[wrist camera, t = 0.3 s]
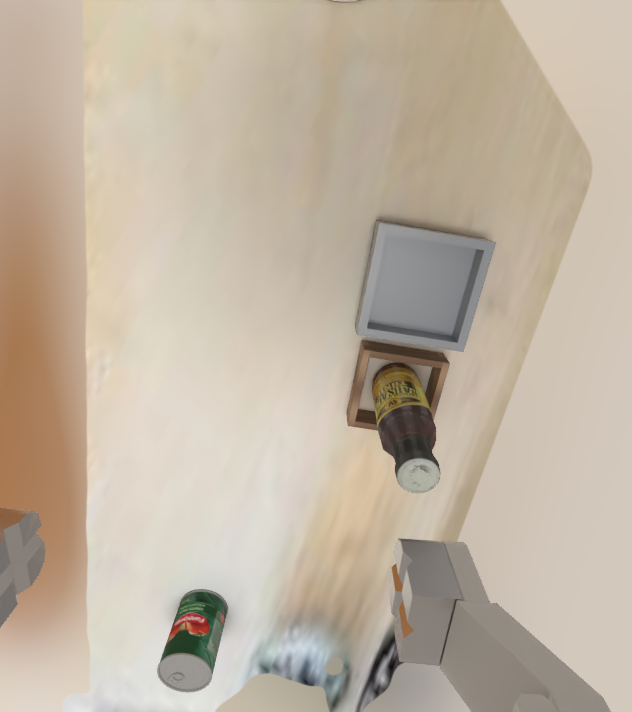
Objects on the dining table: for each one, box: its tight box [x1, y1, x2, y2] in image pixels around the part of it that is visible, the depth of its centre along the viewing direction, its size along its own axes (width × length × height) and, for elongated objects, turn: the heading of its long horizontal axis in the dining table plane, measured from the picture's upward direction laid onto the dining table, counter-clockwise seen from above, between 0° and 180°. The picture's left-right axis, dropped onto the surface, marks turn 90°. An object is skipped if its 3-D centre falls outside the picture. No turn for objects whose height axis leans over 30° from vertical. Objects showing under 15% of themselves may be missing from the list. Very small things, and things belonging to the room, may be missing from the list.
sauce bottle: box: [372, 364, 440, 493], centre depth 51 cm, size 6×6×20 cm
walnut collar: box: [347, 340, 450, 430], centre depth 58 cm, size 11×11×4 cm
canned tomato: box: [157, 590, 228, 692], centre depth 70 cm, size 8×8×11 cm
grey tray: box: [355, 221, 496, 352], centre depth 54 cm, size 13×13×4 cm
